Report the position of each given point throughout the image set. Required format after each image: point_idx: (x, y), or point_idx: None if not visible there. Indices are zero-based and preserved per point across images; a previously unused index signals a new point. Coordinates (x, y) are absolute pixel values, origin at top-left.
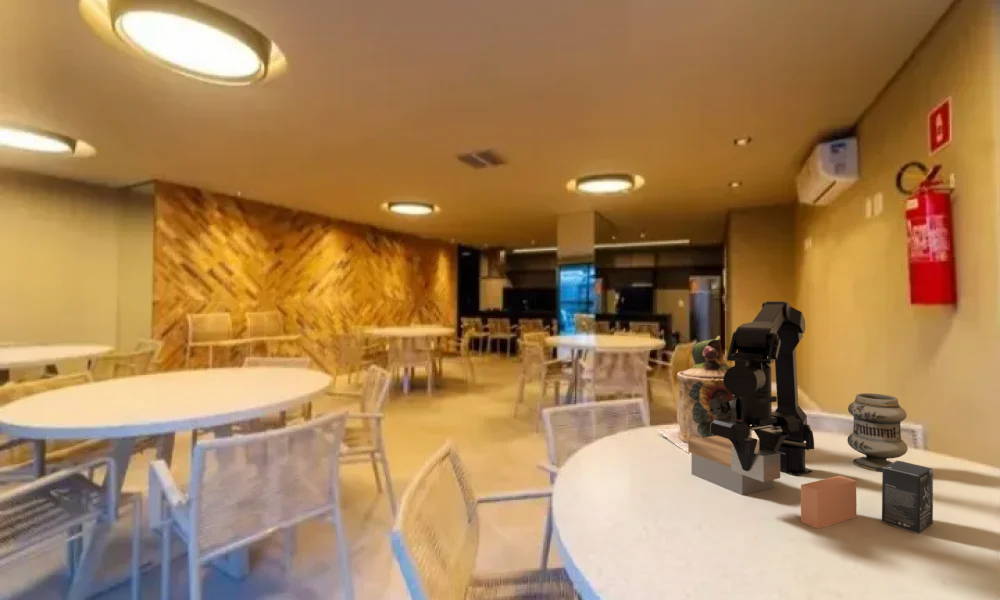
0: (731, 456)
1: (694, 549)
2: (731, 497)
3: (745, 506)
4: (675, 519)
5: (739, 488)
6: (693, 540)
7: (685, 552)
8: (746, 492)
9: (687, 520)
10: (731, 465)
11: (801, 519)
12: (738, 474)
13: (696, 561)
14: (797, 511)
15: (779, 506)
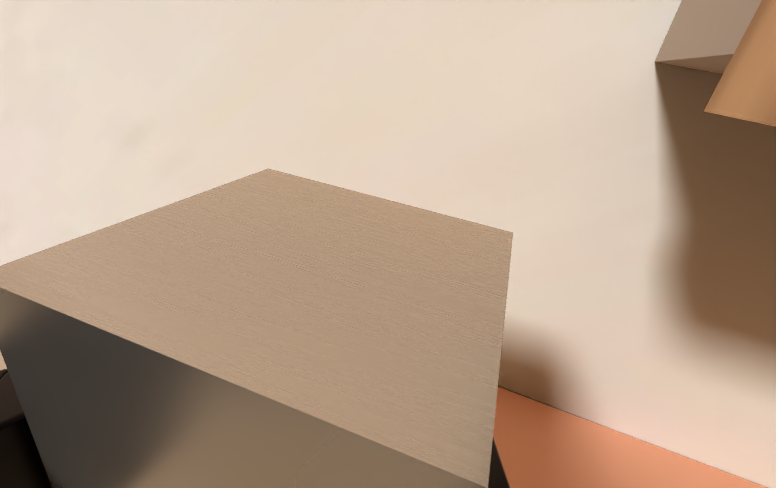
0: (151, 217)
1: (45, 205)
2: (546, 37)
3: (467, 165)
4: (90, 36)
5: (680, 32)
6: (66, 177)
7: (18, 197)
8: (709, 71)
9: (125, 74)
10: (235, 185)
11: None
12: (737, 5)
13: (23, 236)
14: (611, 357)
15: (617, 285)
